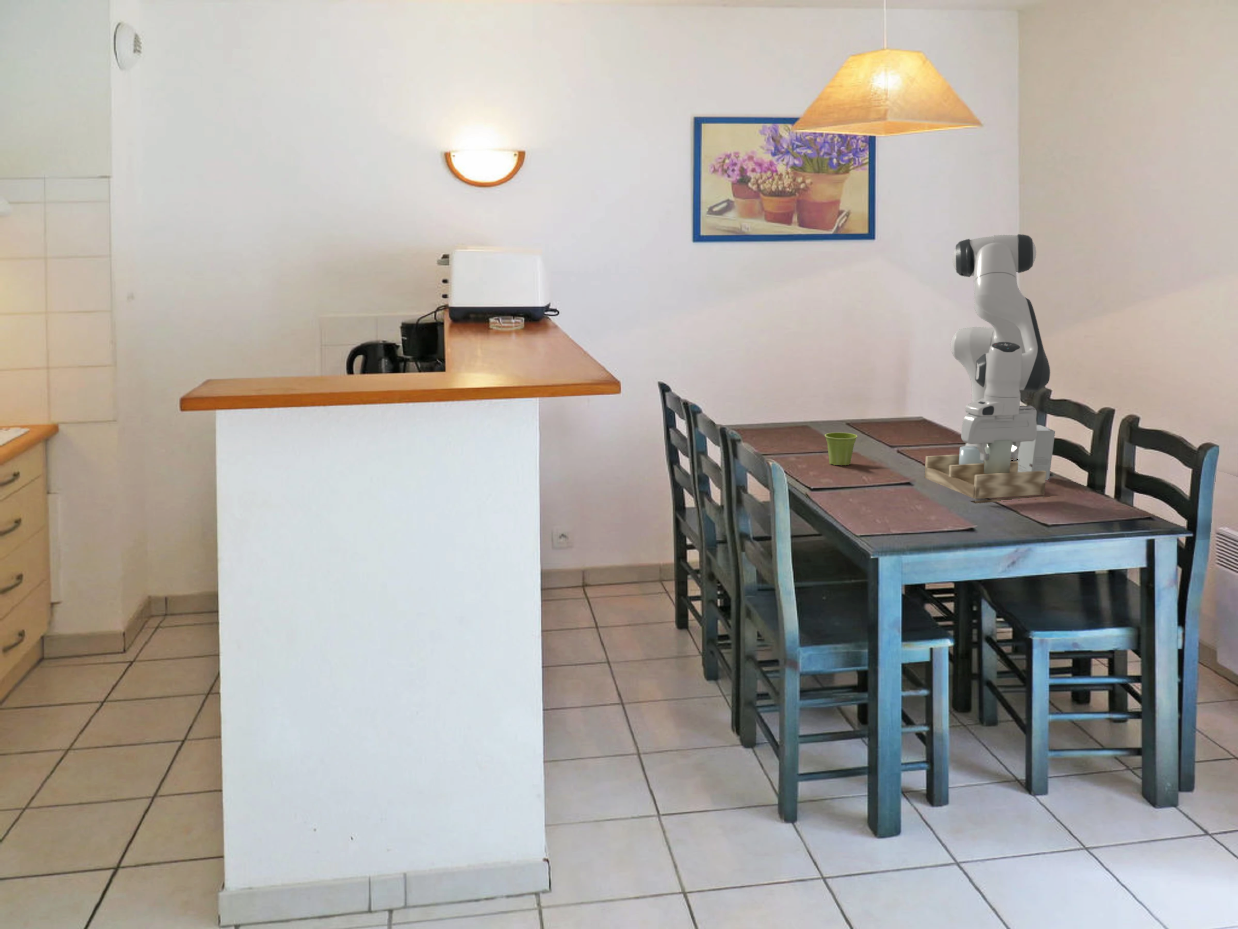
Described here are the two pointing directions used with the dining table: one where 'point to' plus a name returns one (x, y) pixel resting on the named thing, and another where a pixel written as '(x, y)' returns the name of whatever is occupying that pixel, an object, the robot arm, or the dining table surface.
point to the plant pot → (840, 447)
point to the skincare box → (1037, 452)
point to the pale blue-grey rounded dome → (969, 455)
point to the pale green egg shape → (998, 457)
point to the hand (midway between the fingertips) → (997, 459)
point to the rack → (983, 479)
